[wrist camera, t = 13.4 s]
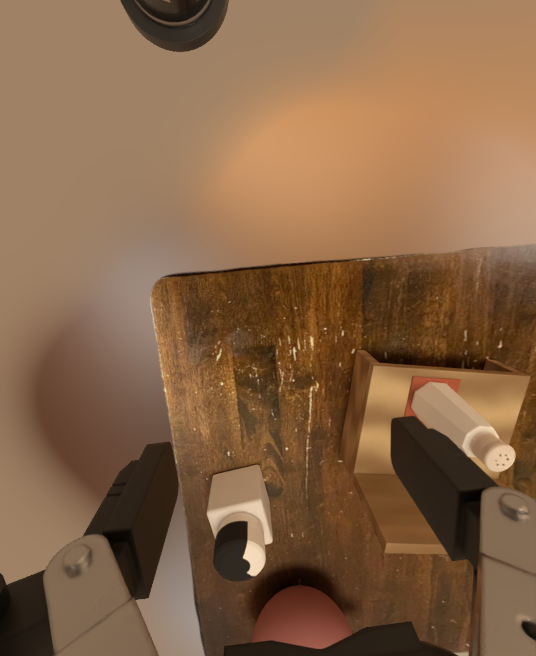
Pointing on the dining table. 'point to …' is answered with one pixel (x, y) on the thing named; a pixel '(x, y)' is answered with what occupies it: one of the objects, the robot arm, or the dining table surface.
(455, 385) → the shelf
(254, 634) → the balloon
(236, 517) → the medicine bottle
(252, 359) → the dining table surface
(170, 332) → the dining table surface
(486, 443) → the pepper shaker
